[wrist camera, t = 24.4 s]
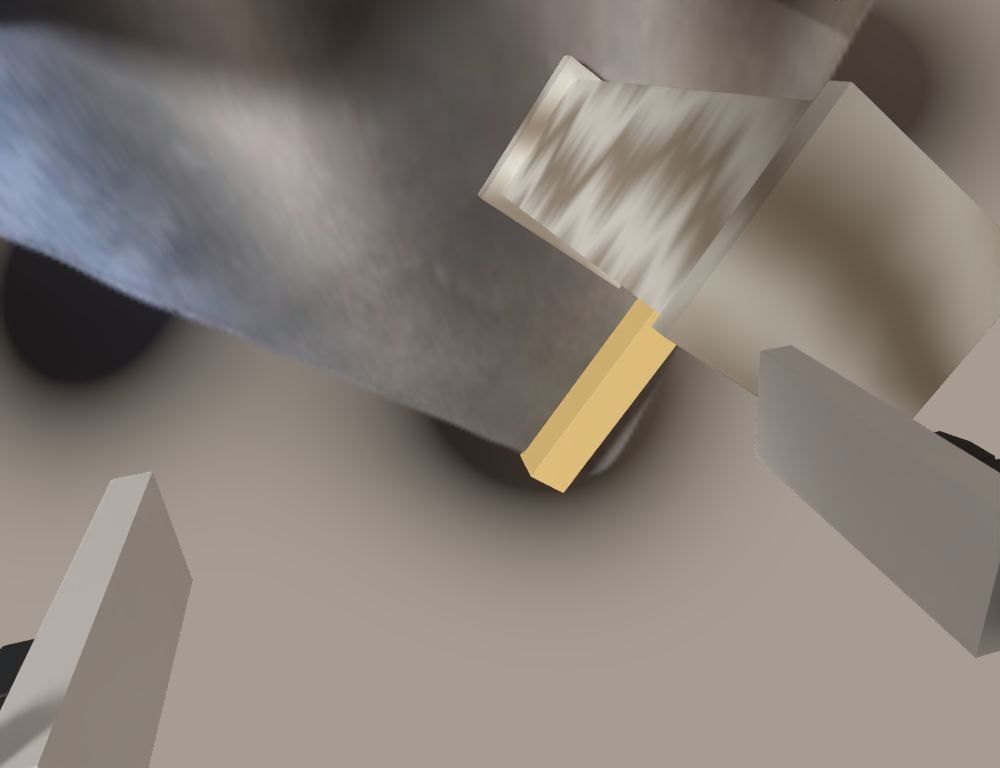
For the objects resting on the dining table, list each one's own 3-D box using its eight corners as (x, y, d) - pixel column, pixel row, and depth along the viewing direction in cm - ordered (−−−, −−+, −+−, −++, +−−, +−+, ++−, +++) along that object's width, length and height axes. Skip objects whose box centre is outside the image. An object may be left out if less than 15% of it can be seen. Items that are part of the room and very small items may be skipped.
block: (551, 471, 64) (563, 492, 61) (520, 455, 62) (531, 476, 59) (723, 242, 58) (746, 253, 55) (693, 219, 57) (715, 228, 54)
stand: (612, 283, 57) (869, 482, 31) (477, 194, 52) (646, 342, 25) (696, 161, 55) (1056, 263, 28) (564, 55, 49) (852, 58, 23)
